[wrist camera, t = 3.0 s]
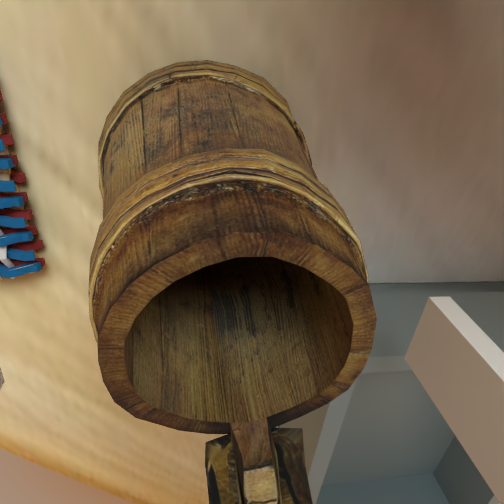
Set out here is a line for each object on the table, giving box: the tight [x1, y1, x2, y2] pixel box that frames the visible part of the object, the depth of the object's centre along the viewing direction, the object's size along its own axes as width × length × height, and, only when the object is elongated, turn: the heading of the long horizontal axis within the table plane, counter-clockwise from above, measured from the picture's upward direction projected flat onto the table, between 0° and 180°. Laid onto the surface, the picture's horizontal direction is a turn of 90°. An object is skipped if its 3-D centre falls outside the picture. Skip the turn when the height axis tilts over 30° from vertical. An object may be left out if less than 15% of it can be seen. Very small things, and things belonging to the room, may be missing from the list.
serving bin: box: [279, 282, 504, 504], centre depth 26 cm, size 20×15×6 cm
